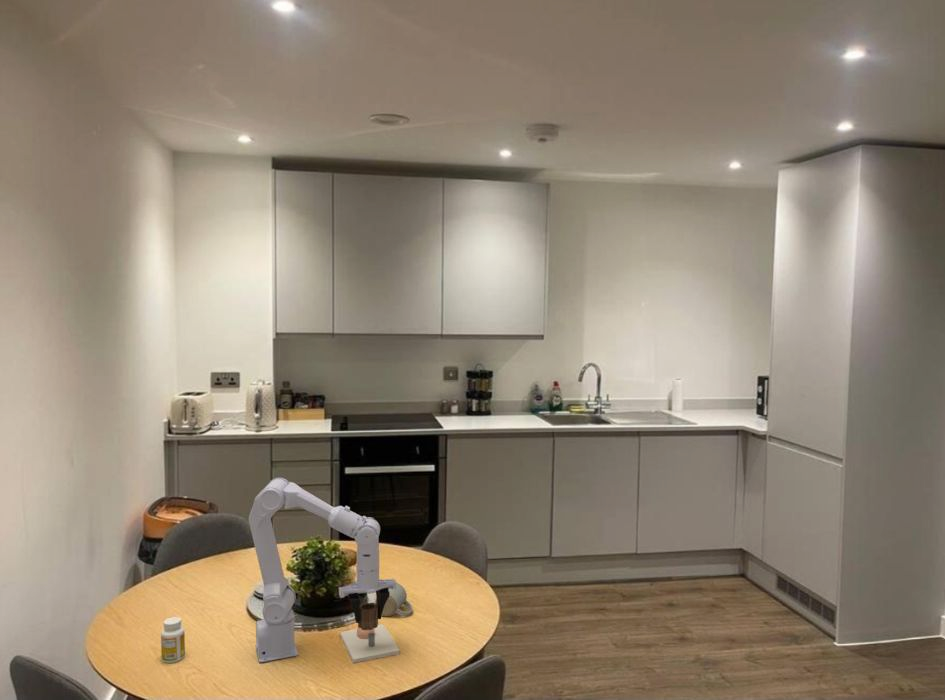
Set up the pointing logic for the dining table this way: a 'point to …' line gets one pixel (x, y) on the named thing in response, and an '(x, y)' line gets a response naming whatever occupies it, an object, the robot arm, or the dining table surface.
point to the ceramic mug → (396, 602)
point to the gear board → (363, 648)
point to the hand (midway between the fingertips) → (368, 619)
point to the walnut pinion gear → (368, 616)
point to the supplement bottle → (172, 640)
